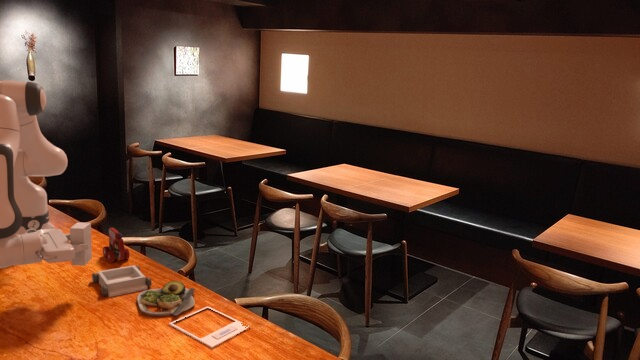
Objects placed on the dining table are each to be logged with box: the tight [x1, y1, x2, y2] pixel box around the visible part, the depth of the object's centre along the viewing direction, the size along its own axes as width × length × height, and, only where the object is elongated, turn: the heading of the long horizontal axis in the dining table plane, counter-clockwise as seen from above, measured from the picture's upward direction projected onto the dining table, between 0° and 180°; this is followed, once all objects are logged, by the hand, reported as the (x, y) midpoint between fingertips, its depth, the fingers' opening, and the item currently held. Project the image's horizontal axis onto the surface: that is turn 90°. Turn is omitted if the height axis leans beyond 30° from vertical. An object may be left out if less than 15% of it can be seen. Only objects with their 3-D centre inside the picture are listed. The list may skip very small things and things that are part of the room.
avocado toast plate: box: [136, 280, 196, 317], centre depth 155 cm, size 19×18×5 cm
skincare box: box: [69, 221, 93, 266], centre depth 156 cm, size 6×4×12 cm
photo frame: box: [168, 305, 250, 349], centre depth 145 cm, size 15×1×18 cm
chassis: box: [91, 264, 152, 298], centre depth 166 cm, size 15×15×4 cm
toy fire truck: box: [102, 227, 130, 263], centre depth 186 cm, size 7×12×10 cm, turn 40°
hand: (84, 241), depth 156 cm, fingers closed on skincare box, 7 cm apart
